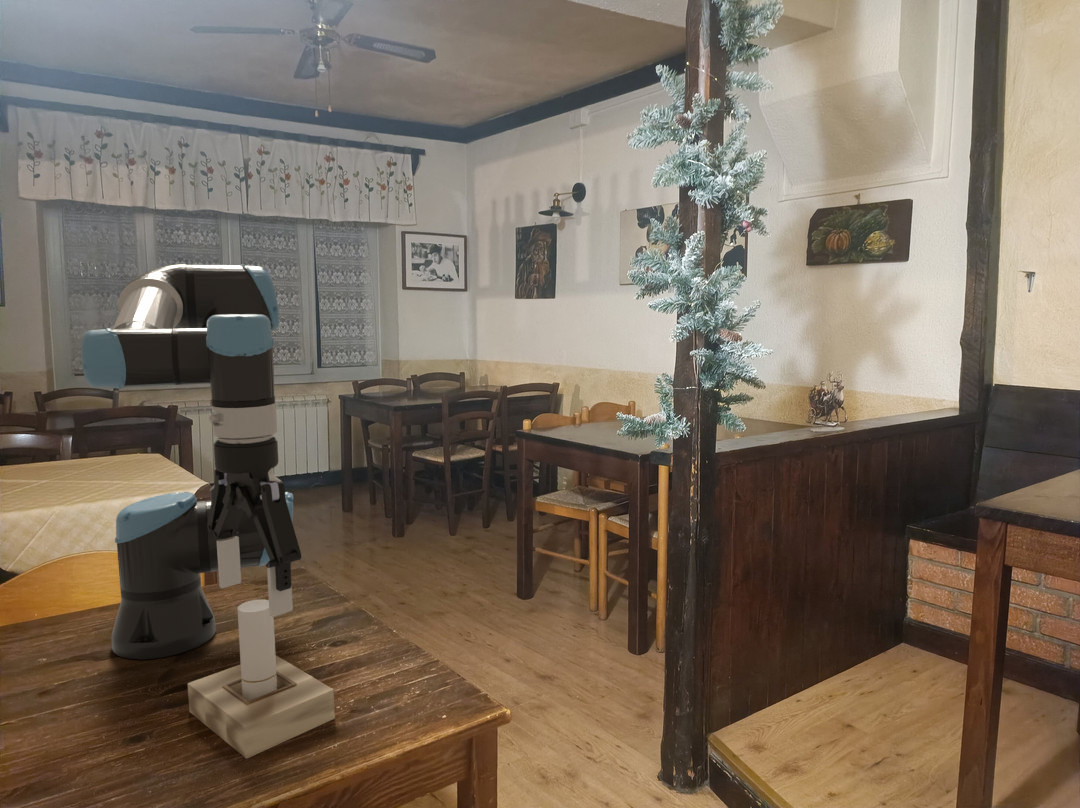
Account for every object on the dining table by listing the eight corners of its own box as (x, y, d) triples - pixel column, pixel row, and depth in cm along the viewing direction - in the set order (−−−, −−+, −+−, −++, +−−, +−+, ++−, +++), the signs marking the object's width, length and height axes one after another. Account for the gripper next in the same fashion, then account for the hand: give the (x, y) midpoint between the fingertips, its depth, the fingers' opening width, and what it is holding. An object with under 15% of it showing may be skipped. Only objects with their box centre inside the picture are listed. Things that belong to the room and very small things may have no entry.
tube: (266, 725, 97) (261, 613, 96) (236, 721, 98) (230, 610, 96) (284, 708, 102) (279, 600, 100) (255, 704, 102) (249, 598, 101)
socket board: (189, 711, 101) (187, 681, 100) (273, 679, 110) (272, 651, 109) (246, 758, 90) (244, 725, 89) (334, 718, 99) (333, 687, 98)
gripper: (174, 429, 101) (184, 582, 104) (266, 456, 84) (276, 636, 87) (229, 422, 106) (237, 567, 109) (326, 446, 90) (333, 616, 93)
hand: (254, 598), depth 98 cm, fingers open, 13 cm apart
